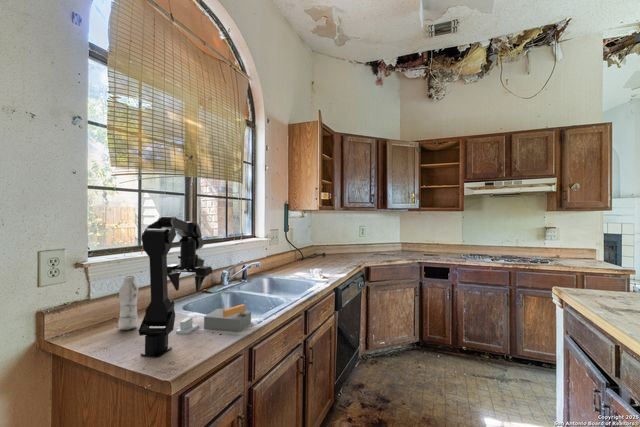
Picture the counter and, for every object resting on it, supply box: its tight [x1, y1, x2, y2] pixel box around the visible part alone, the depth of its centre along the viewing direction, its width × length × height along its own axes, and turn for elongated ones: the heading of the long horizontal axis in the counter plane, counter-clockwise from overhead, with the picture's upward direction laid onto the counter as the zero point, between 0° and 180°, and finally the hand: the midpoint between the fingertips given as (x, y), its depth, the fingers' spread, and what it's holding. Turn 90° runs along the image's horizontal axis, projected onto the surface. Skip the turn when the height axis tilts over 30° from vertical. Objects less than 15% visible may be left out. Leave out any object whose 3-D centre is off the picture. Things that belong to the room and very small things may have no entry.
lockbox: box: [203, 308, 252, 333], centre depth 118 cm, size 10×15×5 cm, turn 79°
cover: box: [175, 316, 200, 335], centre depth 112 cm, size 7×5×4 cm
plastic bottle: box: [117, 275, 140, 331], centre depth 112 cm, size 6×7×20 cm
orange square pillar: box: [223, 304, 246, 318], centre depth 114 cm, size 2×9×4 cm, turn 143°
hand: (187, 291), depth 119 cm, fingers open, 9 cm apart
